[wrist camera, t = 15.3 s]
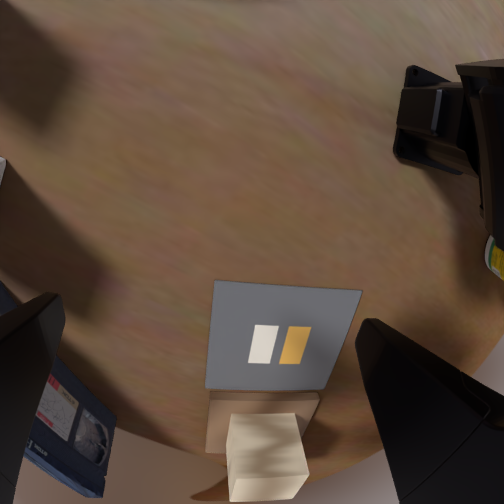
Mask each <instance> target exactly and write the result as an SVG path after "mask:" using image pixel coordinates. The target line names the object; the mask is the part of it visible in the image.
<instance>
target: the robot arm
mask: <svg viewBox="0 0 504 504" xmlns="http://www.w3.org/2000/svg"><path fill="white" fill-rule="evenodd" d="M455 66H456V70H457V73H458V75H460V78H461V81H462V82H450V81H448V80H446V79H444V78H442V77H440V76H438V75H436V74H434V73H432V72H429V71H427V70H425V69H423V68H421V67H418V66H415V65H412V66H408V67H407V69H406V76H405V83H404V89H402V92H401V99H400V105H399V111H398V116H397V122H396V124H397V130H396V135H395V141H394V145H393V152H394V154H395V155H396V156H398V157H400V158H404V159H408V160H411V161H415V162H418V163H421V164H425V165H428V166H431V167H434V168H438V169H441V170H444V171H447V172H450V173H453V174H456V175H461V174H462V173H466V174H468V175H471V176H473V177H476V178H478V179H479V185H480V198H481V205H480V215H481V216H482V218H483V219H484V221H485V228H486V229H487V230H488V232H489V233H490V234H491V236H492V237H493V238H494V239H495V242H494V243H495V246H496V247H498V248H499V249H500V250H502V251H503V252H504V59H496V60H487V61H479V62H471V63H464V64H458V65H455ZM413 70H414V71H415V76H414V75H413V73H412V71H413ZM400 147H402V152H401V153H400V152H399V148H400ZM64 326H65V313H64V308H63V303H62V298H61V296H60V294H58V293H52V292H46V293H44V294H42V295H40V296H38V297H36V298H34V299H32V300H30V301H28V302H26V303H24V304H22V305H20V306H18V307H16V308H14V309H12V310H11V311H9V312H7V313H5V314H3V315H1V316H0V504H13V499H14V494H15V489H16V488H15V487H16V484H17V479H18V475H19V471H20V467H21V463H22V458H23V455H24V452H25V448H26V445H27V441H28V438H29V434H30V431H31V428H32V424H33V421H34V418H35V415H36V412H37V409H38V406H39V403H40V400H41V397H42V394H43V392H44V389H45V386H46V383H47V381H48V378H49V375H50V373H51V370H52V367H53V364H54V360H55V357H56V353H57V350H58V346H59V342H60V339H61V336H62V332H63V329H64ZM355 348H356V352H357V356H358V361H359V365H360V370H361V374H362V379H363V383H364V387H365V390H366V393H367V396H368V399H369V402H370V406H371V409H372V412H373V415H374V418H375V421H376V424H377V427H378V431H379V434H380V437H381V440H382V443H383V447H384V450H385V453H386V457H387V460H388V463H389V467H390V470H391V474H392V478H393V481H394V485H395V488H396V492H397V496H398V499H399V501H400V502H399V504H504V396H503V395H501V394H499V393H498V392H496V391H494V390H492V389H490V388H489V387H487V386H485V385H483V384H482V383H480V382H478V381H477V380H475V379H473V378H472V377H470V376H468V375H467V374H465V373H464V372H460V370H459V369H457V368H456V367H454V366H452V365H451V364H449V363H448V362H446V361H445V360H443V359H441V358H440V357H438V356H437V355H435V354H433V353H432V352H430V351H429V350H427V349H425V348H424V347H422V346H421V345H419V344H417V343H416V342H414V341H413V340H411V339H409V338H408V337H406V336H405V335H403V334H401V333H400V332H398V331H397V330H395V329H393V328H392V327H390V326H389V325H387V324H385V323H384V322H382V321H380V320H379V319H377V318H366V319H364V321H363V322H362V325H361V327H360V330H359V332H358V335H357V337H356V340H355Z"/></svg>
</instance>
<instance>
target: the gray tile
mask: <svg viewBox="0 0 504 504" xmlns="http://www.w3.org/2000/svg"><path fill="white" fill-rule="evenodd" d="M361 294H362V290H348V289H331V288H315V287H300V286H286V285H272V284H258V283H246V282H233V281H221V280H215V284H214V294H213V303H212V314H211V324H210V335H209V346H208V357H207V369H206V381H205V388H211V389H230V390H318V389H324V388H325V386H326V383H327V381H328V379H329V377H330V374H331V372H332V370H333V367H334V365H335V362H336V360H337V357H338V355H339V353H340V350H341V348H342V345H343V343H344V340H345V337H346V335H347V332H348V330H349V327H350V324H351V322H352V319H353V316H354V313H355V311H356V308H357V305H358V302H359V300H360V297H361Z"/></svg>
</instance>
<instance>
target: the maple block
mask: <svg viewBox="0 0 504 504" xmlns="http://www.w3.org/2000/svg"><path fill="white" fill-rule="evenodd" d="M226 452H227V468H228V482H229V496H230V502H244V501H245V502H246V501H267V500H282V499H292V498H293V497H294V496H295V494H296V493H297V491H298V490H299V489H300V487H301V486H302V485H303V483H304V482H305V480H306V479H307V477H308V476H309V471H308V466H307V462H306V458H305V454H304V450H303V446H302V442H301V437H300V433H299V429H298V425H297V421H296V417H295V413H282V414H231V418H230V424H229V430H228V436H227V442H226Z"/></svg>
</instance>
